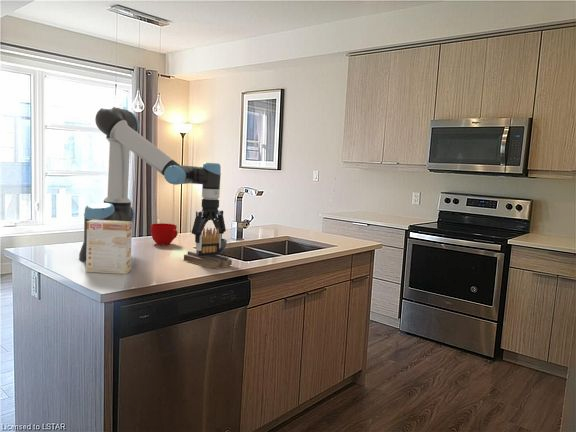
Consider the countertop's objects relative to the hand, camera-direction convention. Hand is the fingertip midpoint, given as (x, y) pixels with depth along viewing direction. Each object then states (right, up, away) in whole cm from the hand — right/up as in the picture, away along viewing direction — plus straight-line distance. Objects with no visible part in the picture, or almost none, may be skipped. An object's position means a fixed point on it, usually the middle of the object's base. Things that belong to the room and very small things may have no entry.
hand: (208, 249), depth 203 cm
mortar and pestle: (-1, -4, +23) cm, 23 cm away
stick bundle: (-1, -6, +1) cm, 6 cm away
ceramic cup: (-29, -1, +37) cm, 47 cm away
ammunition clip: (0, -3, 0) cm, 3 cm away
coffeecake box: (-34, -7, -25) cm, 43 cm away
